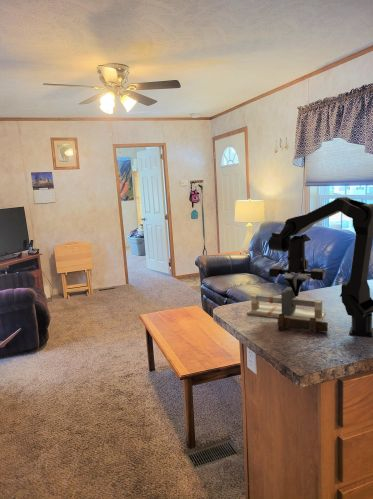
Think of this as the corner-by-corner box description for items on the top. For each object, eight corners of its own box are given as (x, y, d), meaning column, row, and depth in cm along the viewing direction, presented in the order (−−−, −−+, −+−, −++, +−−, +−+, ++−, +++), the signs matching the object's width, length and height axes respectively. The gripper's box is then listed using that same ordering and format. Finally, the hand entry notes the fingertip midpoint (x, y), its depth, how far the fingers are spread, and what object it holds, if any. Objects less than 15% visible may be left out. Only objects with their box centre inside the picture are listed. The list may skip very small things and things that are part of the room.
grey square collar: (290, 315, 133) (289, 293, 131) (281, 314, 134) (281, 292, 133) (295, 308, 139) (295, 287, 138) (287, 307, 141) (287, 286, 140)
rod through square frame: (320, 322, 127) (320, 305, 126) (247, 313, 140) (246, 297, 139) (325, 313, 135) (325, 296, 134) (256, 305, 148) (255, 290, 147)
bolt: (327, 339, 118) (278, 333, 123) (327, 326, 122) (280, 321, 127) (327, 327, 114) (277, 322, 120) (328, 315, 118) (279, 310, 123)
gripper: (328, 250, 134) (328, 292, 137) (276, 248, 143) (277, 288, 146) (322, 256, 125) (322, 301, 127) (267, 253, 134) (268, 296, 136)
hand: (296, 296), depth 134 cm, fingers closed
